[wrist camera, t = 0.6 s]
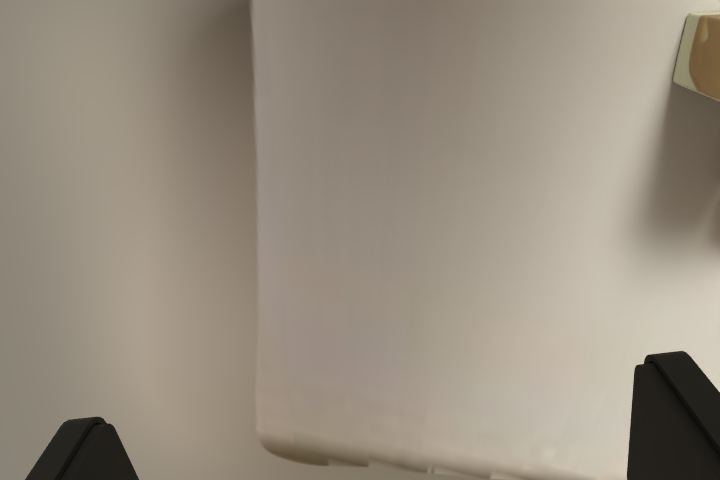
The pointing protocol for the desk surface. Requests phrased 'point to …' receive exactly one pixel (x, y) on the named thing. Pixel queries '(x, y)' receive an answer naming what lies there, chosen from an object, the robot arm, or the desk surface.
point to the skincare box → (700, 55)
